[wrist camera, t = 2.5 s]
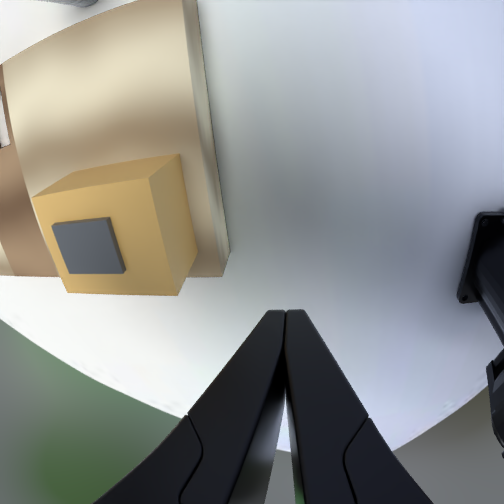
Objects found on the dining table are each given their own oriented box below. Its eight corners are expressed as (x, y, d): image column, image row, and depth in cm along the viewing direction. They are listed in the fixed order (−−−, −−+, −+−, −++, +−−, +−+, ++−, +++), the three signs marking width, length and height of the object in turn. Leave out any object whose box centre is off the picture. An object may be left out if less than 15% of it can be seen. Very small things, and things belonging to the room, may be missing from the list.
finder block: (198, 252, 16) (175, 300, 13) (98, 255, 17) (64, 296, 14) (179, 153, 13) (144, 180, 10) (73, 171, 14) (27, 200, 11)
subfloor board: (230, 252, 19) (222, 276, 17) (5, 259, 22) (-12, 275, 19) (196, 0, 12) (180, -12, 10) (-40, 103, 15) (-62, 111, 12)
